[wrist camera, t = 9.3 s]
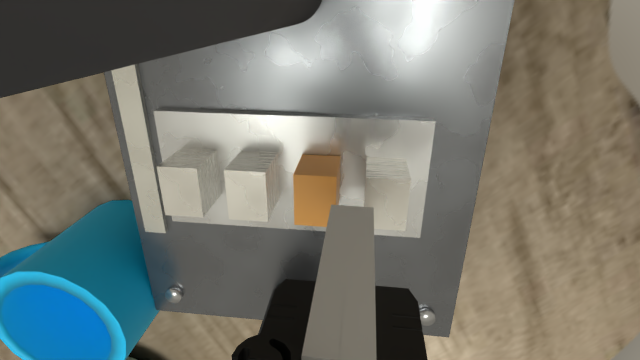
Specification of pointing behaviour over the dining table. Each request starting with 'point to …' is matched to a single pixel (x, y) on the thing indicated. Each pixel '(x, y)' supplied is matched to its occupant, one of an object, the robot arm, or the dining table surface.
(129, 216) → the mug
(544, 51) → the dining table surface
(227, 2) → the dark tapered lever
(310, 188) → the orange cube
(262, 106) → the breaker panel
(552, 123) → the dining table surface
